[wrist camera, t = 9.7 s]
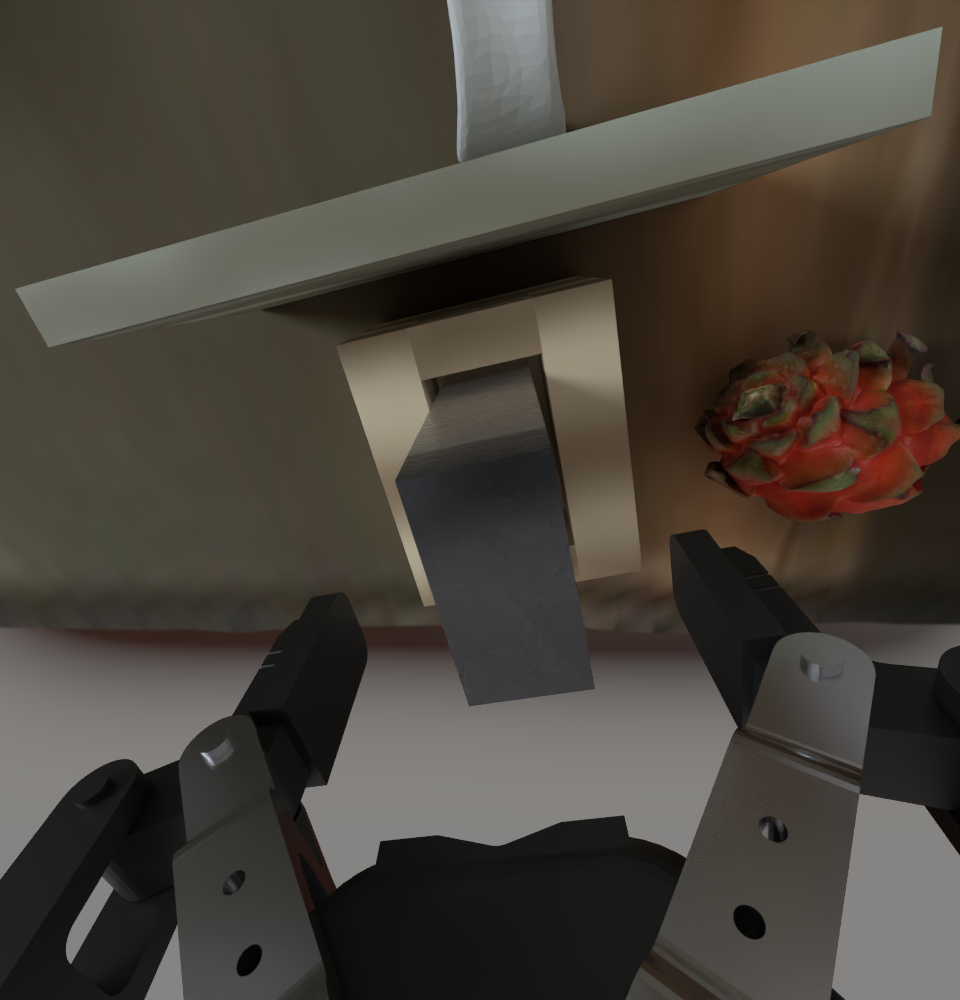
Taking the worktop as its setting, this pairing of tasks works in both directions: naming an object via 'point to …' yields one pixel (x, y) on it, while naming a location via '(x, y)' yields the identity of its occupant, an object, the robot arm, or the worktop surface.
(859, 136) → the small shelf
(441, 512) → the brushed steel bar
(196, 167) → the worktop surface
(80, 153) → the worktop surface
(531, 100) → the spoon rest
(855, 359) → the dragon fruit
